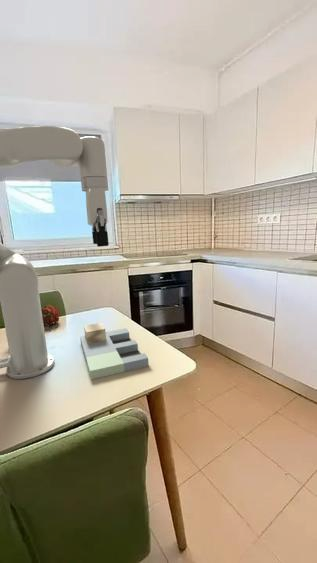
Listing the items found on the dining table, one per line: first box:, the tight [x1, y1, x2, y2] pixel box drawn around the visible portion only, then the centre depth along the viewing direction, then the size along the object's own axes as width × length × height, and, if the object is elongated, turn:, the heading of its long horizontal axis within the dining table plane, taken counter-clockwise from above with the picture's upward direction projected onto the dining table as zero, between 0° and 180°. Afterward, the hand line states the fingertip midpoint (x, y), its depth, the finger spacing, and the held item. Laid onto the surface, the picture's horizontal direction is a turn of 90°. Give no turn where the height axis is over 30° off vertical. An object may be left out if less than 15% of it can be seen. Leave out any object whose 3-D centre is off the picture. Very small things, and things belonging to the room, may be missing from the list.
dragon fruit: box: [41, 304, 60, 326], centre depth 114 cm, size 8×8×12 cm
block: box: [83, 322, 107, 344], centre depth 91 cm, size 6×6×4 cm
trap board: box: [79, 327, 149, 380], centre depth 86 cm, size 16×24×2 cm, turn 21°
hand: (100, 244), depth 83 cm, fingers open, 9 cm apart
